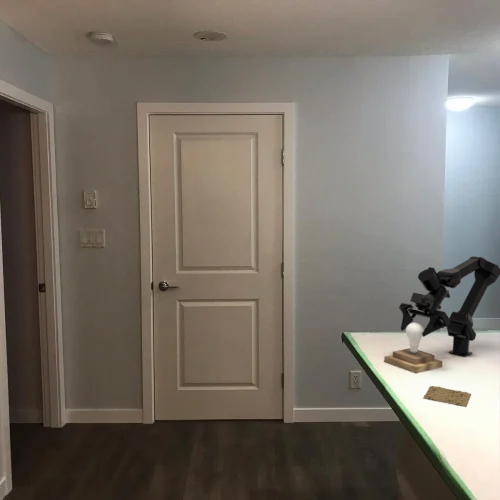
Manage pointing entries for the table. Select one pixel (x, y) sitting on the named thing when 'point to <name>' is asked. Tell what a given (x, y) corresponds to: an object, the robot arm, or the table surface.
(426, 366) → the plinth
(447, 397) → the cookie
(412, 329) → the lightbulb
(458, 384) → the table surface
